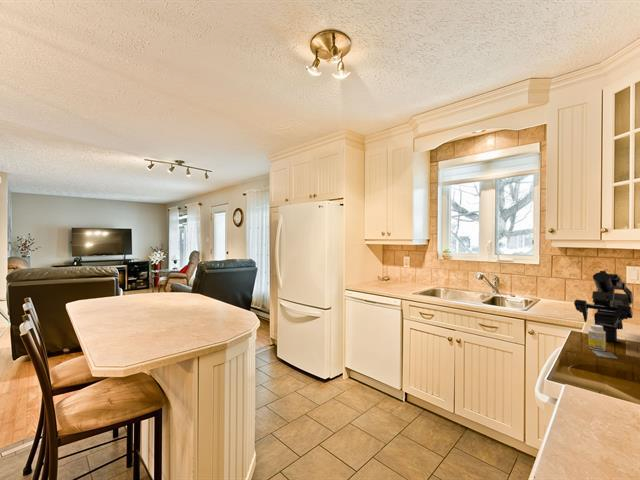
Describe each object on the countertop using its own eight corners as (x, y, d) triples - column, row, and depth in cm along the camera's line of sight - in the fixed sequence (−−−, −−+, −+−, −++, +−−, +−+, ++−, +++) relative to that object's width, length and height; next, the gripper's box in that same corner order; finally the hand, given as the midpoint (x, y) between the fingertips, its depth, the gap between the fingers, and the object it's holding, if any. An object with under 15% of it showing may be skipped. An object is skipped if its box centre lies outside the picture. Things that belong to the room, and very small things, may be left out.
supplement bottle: (596, 346, 132) (596, 323, 132) (609, 351, 127) (609, 327, 127) (585, 347, 132) (584, 324, 132) (597, 351, 126) (597, 327, 126)
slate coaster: (591, 351, 127) (591, 350, 127) (610, 353, 124) (610, 352, 124) (598, 356, 121) (598, 355, 121) (617, 359, 119) (617, 358, 119)
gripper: (574, 282, 142) (567, 308, 136) (630, 287, 127) (625, 317, 120) (580, 296, 147) (573, 323, 140) (634, 303, 131) (630, 333, 125)
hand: (598, 323), depth 131 cm, fingers open, 9 cm apart
